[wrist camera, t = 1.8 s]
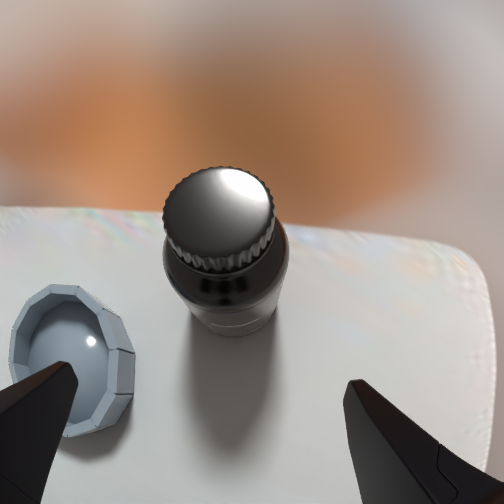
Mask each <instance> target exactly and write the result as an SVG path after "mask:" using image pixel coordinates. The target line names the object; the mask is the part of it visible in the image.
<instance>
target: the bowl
mask: <svg viewBox="0 0 504 504" xmlns="http://www.w3.org/2000/svg"><path fill="white" fill-rule="evenodd" d="M12 328H13V329H14V330H13V329H12V332H11V340H10V349H9V360H8V362H9V368H10V372H11V376H12V380H13V384H15V383H17V382H19V381H21V380H23V379H25V378H26V377H28V376H30V375H32V374H34V373H36V372H38V371H40V370H42V369H44V368H46V367H48V366H50V365H52V364H54V363H56V362H57V361H65V362H69V363H70V364H71V365H72V367H73V370H74V372H75V374H76V376H77V378H78V382H79V384H78V389H77V392H76V395H75V398H74V401H73V405H72V408H71V412H70V415H69V418H68V421H67V424H66V427H65V429H64V432H63V434H62V436H65V437H75V436H81V435H86V434H90V433H93V432H96V431H98V430H101V429H104V428H107V427H109V426H112V425H115V423H117V421H118V419H119V418H120V416H121V414H122V413H123V411H124V409H125V408H126V406H127V404H128V403H129V401H130V399H131V398H132V396H133V394H131V393H134V371H135V355H134V353H135V352H134V349H133V347H132V345H131V342H130V340H129V337H128V335H127V332H126V330H125V327H124V325H123V322H122V320H121V318H120V317H119V316H118V315H117V314H115V313H114V312H113V311H112V310H111V309H109V308H108V307H107V306H106V305H105V304H103V303H102V302H101V301H100V300H99V299H97V298H96V297H95V296H93V295H92V294H90V293H89V292H87V291H86V290H84V289H83V288H81V287H80V286H75V285H58V284H52V285H49V286H47V287H46V288H44V289H43V290H41V291H40V292H38V293H37V294H35V295H34V296H32V297H31V298H29V299H28V301H26V303H25V305H24V306H23V308H22V310H21V312H20V314H19V316H18V318H17V319H16V321H15V323H14V325H13V327H12Z"/></svg>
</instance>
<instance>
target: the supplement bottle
mask: <svg viewBox="0 0 504 504" xmlns="http://www.w3.org/2000/svg"><path fill="white" fill-rule="evenodd" d="M273 201H274V199H273V197H272V196H271V195H270V190H269V189H268V188H267V187H266V186H265V183H264V182H263V181H261V180H259V179H258V177H257V176H255V175H252V174H251V173H250V172H249V171H244V170H242V169H240V168H233V167H230V166H229V167H223V166H219V167H209V168H208V169H201V170H199V171H198V172H195V173H191V175H189V176H188V177H186V178H183V180H182V181H181V182H180V183H178V184H177V185H176V186H175V188H174V189H173V190H172V191H171V192H170V194H169V197H168V198H167V199H166V200H165V206H164V208H163V213H164V214H163V217H162V220H163V222H164V230H165V232H166V234H167V235H166V237H165V241H164V245H163V265H164V269H165V273H166V275H167V278H168V280H169V282H170V283H171V285H172V287H173V288H174V290H175V291H176V292H177V294H178V295H179V296H180V298H181V299H182V300H183V301H184V303H185V304H186V305H187V306H188V308H189V309H190V310H191V311H192V313H193V314H194V315H195V316H196V318H197V319H198V320H199V321H200V322H201V323H202V324H203V325H204V326H205V327H206V328H208V329H209V330H211V331H213V332H215V333H217V334H220V335H223V336H230V337H237V336H244V335H247V334H250V333H252V332H254V331H256V330H258V329H259V328H261V327H262V326H263V325H264V324H265V323H266V322H267V321H268V320H269V318H270V317H271V315H272V314H273V312H274V310H275V307H276V304H277V301H278V298H279V294H280V291H281V288H282V284H283V281H284V277H285V274H286V270H287V266H288V261H289V242H288V238H287V234H286V232H285V229H284V227H283V225H282V224H281V222H280V221H279V219H278V218H277V217H276V215H275V206H274V204H273Z"/></svg>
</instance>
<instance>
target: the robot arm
mask: <svg viewBox="0 0 504 504" xmlns="http://www.w3.org/2000/svg"><path fill="white" fill-rule="evenodd" d="M78 384H79V382H78V378H77V376H76V374H75V372H74V370H73V367H72V365H71V364H70V363H69V362H65V361H57V362H56V363H54V364H52V365H50V366H48V367H46V368H44V369H42V370H40V371H38V372H36V373H34V374H32V375H30V376H28V377H26V378H25V379H23V380H21V381H19V382H17V383H15V384H13V385H11V386H9V387H7V388H5V389H3V390H1V391H0V504H40V503H41V499H42V496H43V492H44V488H45V485H46V482H47V478H48V475H49V472H50V469H51V466H52V463H53V460H54V457H55V454H56V451H57V448H58V445H59V443H60V440H61V437H62V434H63V432H64V429H65V427H66V424H67V421H68V418H69V415H70V412H71V408H72V405H73V401H74V398H75V395H76V392H77V389H78ZM343 407H344V414H345V421H346V429H347V437H348V444H349V449H350V453H351V457H352V461H353V465H354V469H355V473H356V477H357V482H358V486H359V490H360V494H361V499H362V503H363V504H504V482H501V481H499V480H497V479H495V478H493V477H491V476H489V475H487V474H486V473H484V472H482V471H481V470H479V469H477V468H475V467H474V466H472V465H470V464H469V463H467V462H466V461H464V460H462V459H461V458H459V457H458V456H457V455H455V454H454V453H453V452H451V451H450V450H449V449H447V448H446V447H445V446H443V445H442V444H439V442H438V441H437V440H436V439H435V438H433V437H432V436H431V435H430V434H428V433H427V432H426V431H425V430H423V429H422V428H421V427H420V426H418V425H417V424H416V423H415V422H414V421H412V420H411V419H410V418H409V417H407V416H406V415H405V414H404V413H403V412H401V411H400V410H399V409H398V408H397V407H395V406H394V405H393V404H392V403H391V402H389V401H388V400H387V399H386V398H385V397H383V396H382V395H381V394H380V393H379V392H377V391H376V390H375V389H374V388H373V387H371V386H370V385H369V384H368V383H367V382H366V381H364V380H363V379H357V380H351V381H349V383H348V385H347V388H346V392H345V395H344V398H343Z"/></svg>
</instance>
